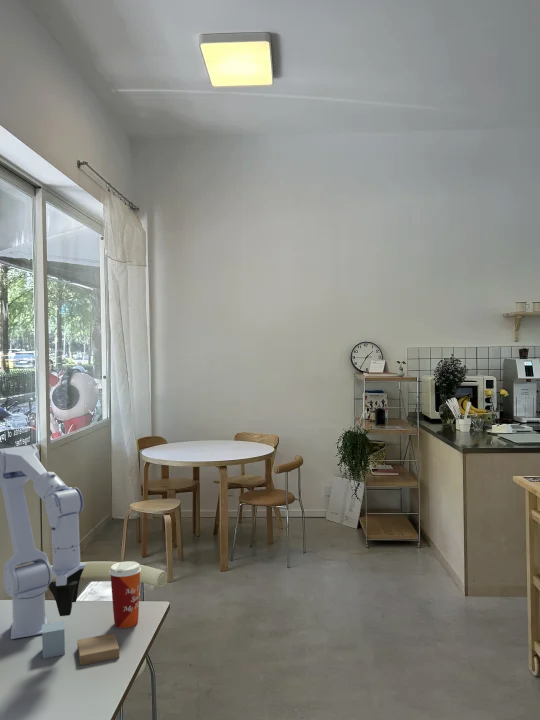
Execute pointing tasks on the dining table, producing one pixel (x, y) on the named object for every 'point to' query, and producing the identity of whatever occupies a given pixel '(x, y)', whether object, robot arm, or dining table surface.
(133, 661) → the dining table surface
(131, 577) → the paper cup
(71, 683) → the dining table surface
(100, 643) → the base
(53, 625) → the block
